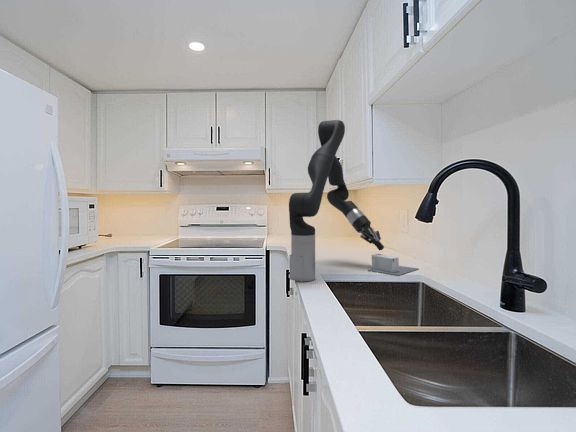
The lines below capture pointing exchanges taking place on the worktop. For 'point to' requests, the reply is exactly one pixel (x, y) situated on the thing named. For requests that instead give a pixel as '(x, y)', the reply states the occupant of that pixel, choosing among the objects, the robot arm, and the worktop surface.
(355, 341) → the worktop surface
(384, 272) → the slate mat
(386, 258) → the skincare box
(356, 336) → the worktop surface
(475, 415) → the worktop surface
